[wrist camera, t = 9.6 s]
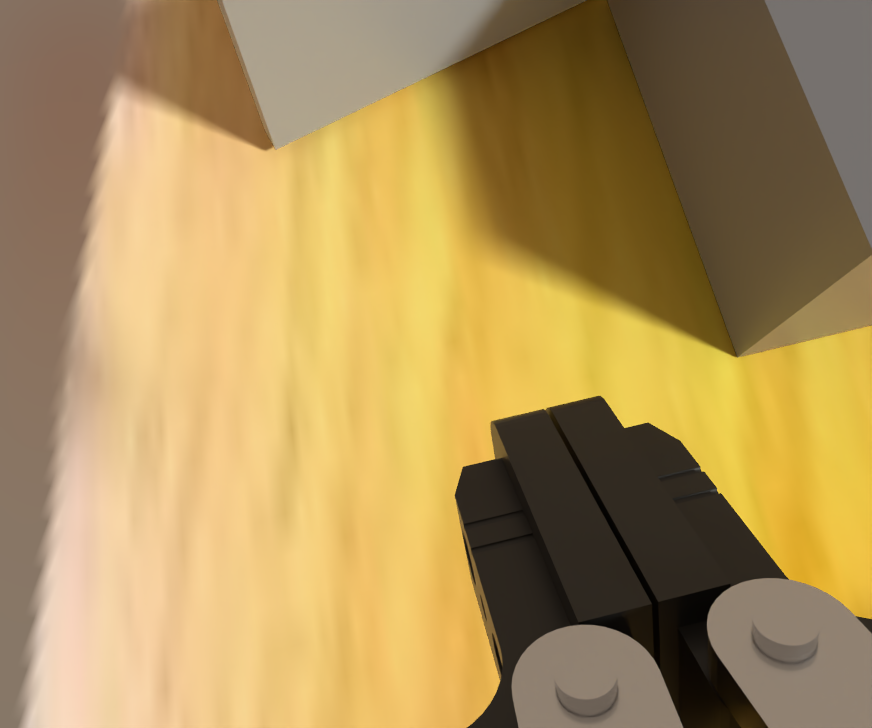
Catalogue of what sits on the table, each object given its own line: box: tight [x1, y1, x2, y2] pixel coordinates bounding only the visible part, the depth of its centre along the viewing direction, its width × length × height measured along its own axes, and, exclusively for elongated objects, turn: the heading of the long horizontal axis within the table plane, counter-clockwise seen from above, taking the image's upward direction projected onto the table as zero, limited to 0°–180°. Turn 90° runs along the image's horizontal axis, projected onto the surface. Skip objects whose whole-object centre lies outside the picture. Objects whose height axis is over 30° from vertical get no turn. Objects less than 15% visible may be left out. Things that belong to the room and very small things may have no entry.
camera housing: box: [607, 0, 872, 357], centre depth 23 cm, size 8×15×9 cm, turn 14°
